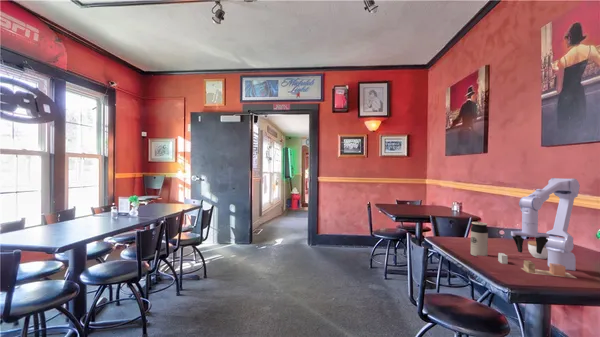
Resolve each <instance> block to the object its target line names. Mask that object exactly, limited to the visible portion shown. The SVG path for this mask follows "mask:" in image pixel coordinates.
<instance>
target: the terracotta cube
mask: <svg viewBox="0 0 600 337" xmlns="http://www.w3.org/2000/svg"><path fill="white" fill-rule="evenodd" d="M548 271H549V272H551V273H552V274H554V275H561V276H565V273H566V271H567V270H566V267H565V266H563V265H561V264H555V263H550V267H549V270H548ZM561 276H560V277H561Z"/></svg>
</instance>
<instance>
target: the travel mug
mask: <svg viewBox="0 0 600 337" xmlns="http://www.w3.org/2000/svg"><path fill="white" fill-rule="evenodd" d="M487 227H488V223H486V222H480V221H472V222H471V227H470V255H471V256H473V257H476V258H478V256H482V257H488V255H489V254H488V248H489V229H488V228H487Z"/></svg>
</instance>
